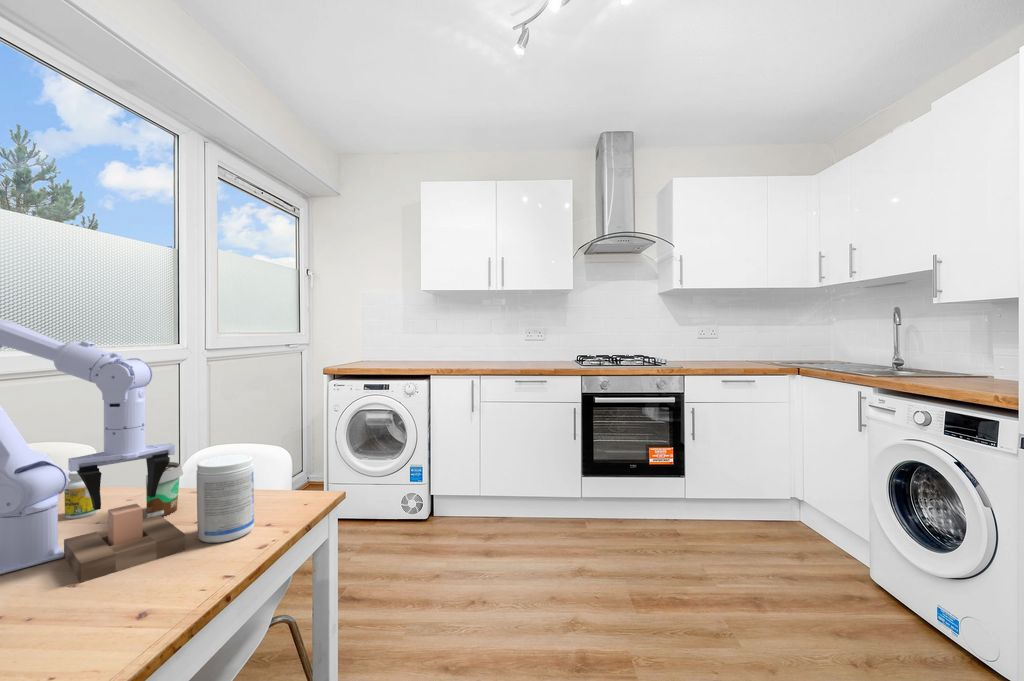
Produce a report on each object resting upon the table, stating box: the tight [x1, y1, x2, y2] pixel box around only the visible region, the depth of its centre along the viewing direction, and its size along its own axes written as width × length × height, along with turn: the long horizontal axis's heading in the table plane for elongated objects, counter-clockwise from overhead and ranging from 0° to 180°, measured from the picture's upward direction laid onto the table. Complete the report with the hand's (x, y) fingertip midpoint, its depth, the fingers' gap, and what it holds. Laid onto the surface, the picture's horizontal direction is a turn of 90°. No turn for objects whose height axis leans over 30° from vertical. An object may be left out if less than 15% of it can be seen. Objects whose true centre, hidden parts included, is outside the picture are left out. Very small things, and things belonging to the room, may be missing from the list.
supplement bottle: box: [63, 471, 99, 520], centre depth 100 cm, size 5×5×10 cm
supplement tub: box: [196, 454, 255, 544], centre depth 91 cm, size 10×10×15 cm
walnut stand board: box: [63, 515, 186, 583], centre depth 82 cm, size 14×14×3 cm
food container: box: [145, 461, 184, 519], centre depth 102 cm, size 12×6×10 cm, turn 34°
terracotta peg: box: [107, 503, 144, 546], centre depth 82 cm, size 4×4×8 cm
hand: (125, 502), depth 82 cm, fingers open, 7 cm apart
